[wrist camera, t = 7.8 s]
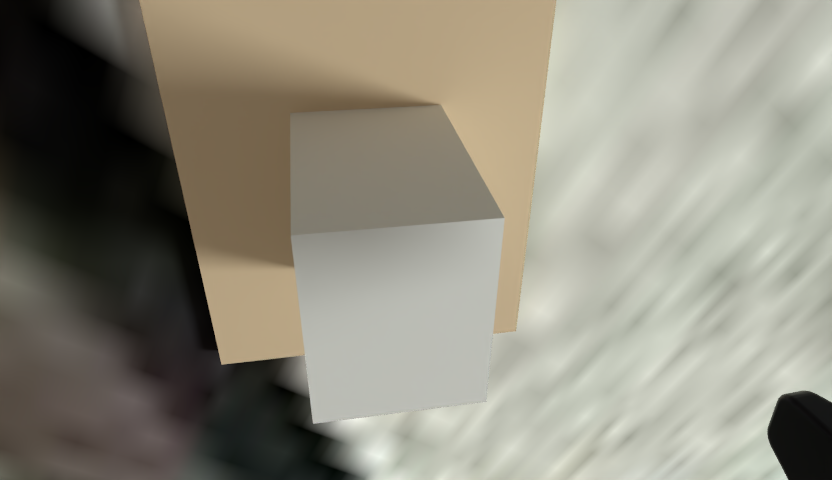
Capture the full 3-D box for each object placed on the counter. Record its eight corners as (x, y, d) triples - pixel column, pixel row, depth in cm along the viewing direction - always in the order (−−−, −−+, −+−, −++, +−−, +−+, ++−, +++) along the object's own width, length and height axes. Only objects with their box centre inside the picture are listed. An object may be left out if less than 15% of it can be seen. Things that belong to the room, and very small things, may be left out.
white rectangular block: (441, 104, 17) (504, 217, 12) (436, 257, 19) (486, 401, 15) (290, 113, 16) (290, 236, 11) (306, 269, 19) (313, 423, 14)
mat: (552, -44, 16) (561, -41, 15) (510, 320, 22) (515, 331, 22) (137, -35, 14) (132, -31, 14) (223, 351, 21) (221, 364, 20)
